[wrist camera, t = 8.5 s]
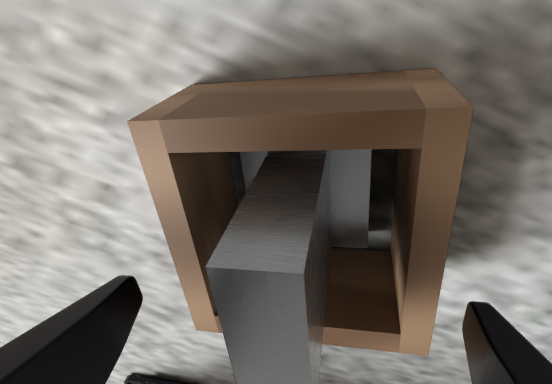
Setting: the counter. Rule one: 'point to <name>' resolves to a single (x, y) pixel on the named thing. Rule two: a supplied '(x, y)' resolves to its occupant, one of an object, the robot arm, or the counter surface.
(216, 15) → the counter surface
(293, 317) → the bracket
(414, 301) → the square frame
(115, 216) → the counter surface
